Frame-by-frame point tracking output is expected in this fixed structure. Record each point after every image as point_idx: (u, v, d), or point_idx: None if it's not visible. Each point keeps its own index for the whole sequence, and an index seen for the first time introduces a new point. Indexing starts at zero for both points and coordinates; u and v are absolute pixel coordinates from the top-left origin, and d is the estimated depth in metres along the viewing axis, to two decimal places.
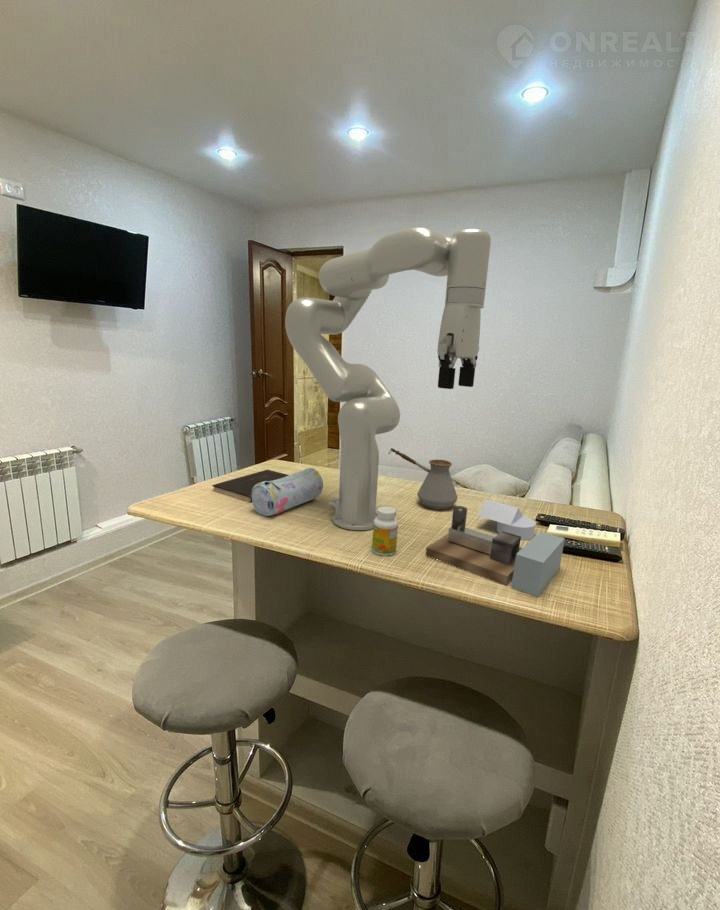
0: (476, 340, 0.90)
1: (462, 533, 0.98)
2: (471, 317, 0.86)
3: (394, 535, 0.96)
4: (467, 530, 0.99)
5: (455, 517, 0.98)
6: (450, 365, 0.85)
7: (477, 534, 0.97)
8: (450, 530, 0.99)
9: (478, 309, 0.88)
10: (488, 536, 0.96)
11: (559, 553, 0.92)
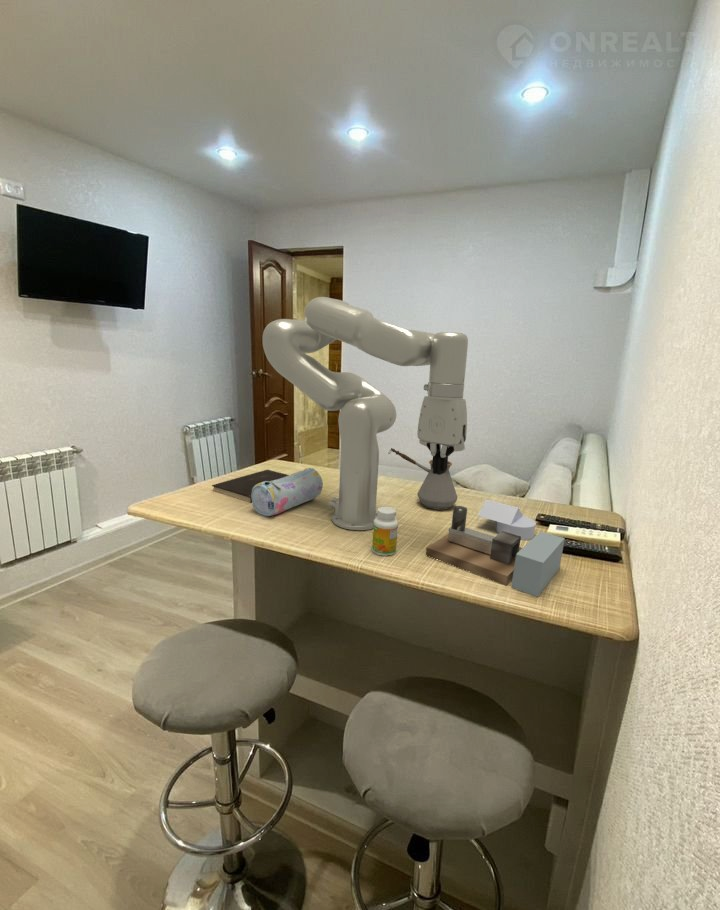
0: None
1: (462, 533, 0.98)
2: None
3: (394, 535, 0.96)
4: (467, 530, 0.99)
5: (455, 517, 0.98)
6: (448, 455, 1.00)
7: (477, 534, 0.97)
8: (450, 530, 0.99)
9: None
10: (488, 536, 0.96)
11: (559, 553, 0.92)
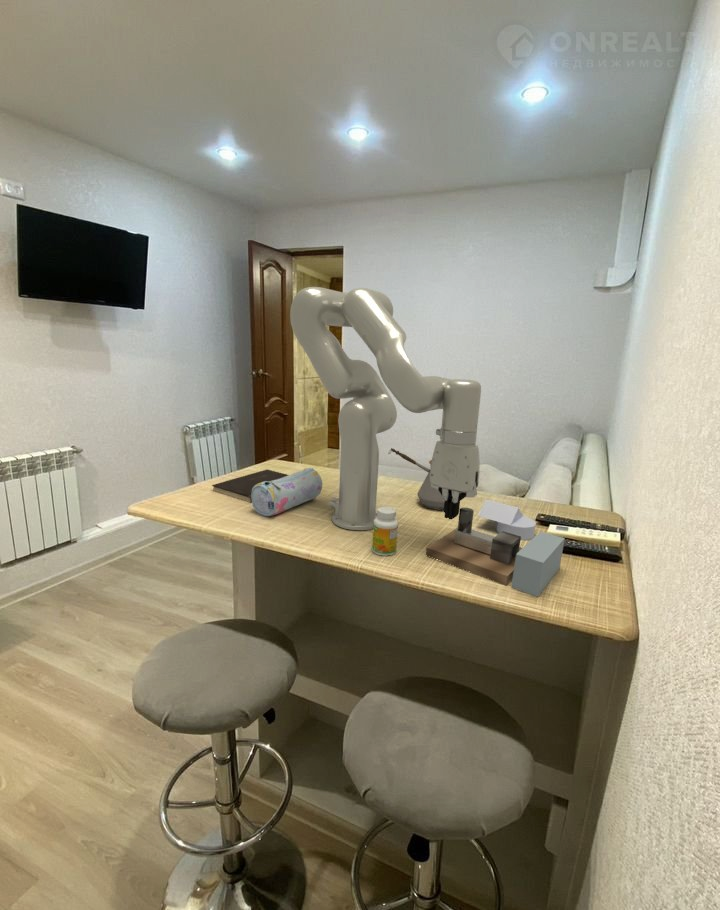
0: None
1: (468, 535, 0.97)
2: None
3: (394, 535, 0.96)
4: (473, 532, 0.98)
5: (461, 519, 0.97)
6: None
7: (484, 536, 0.96)
8: (456, 532, 0.99)
9: None
10: None
11: (559, 553, 0.92)
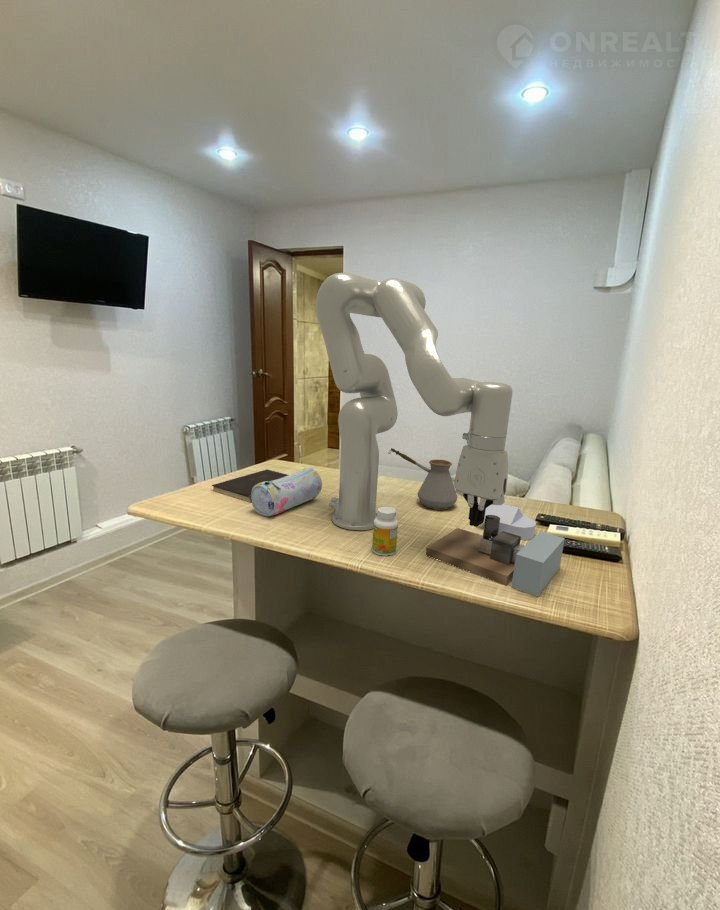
0: None
1: None
2: None
3: (394, 535, 0.96)
4: None
5: (487, 526, 0.94)
6: None
7: None
8: (482, 540, 0.95)
9: None
10: None
11: (559, 553, 0.92)
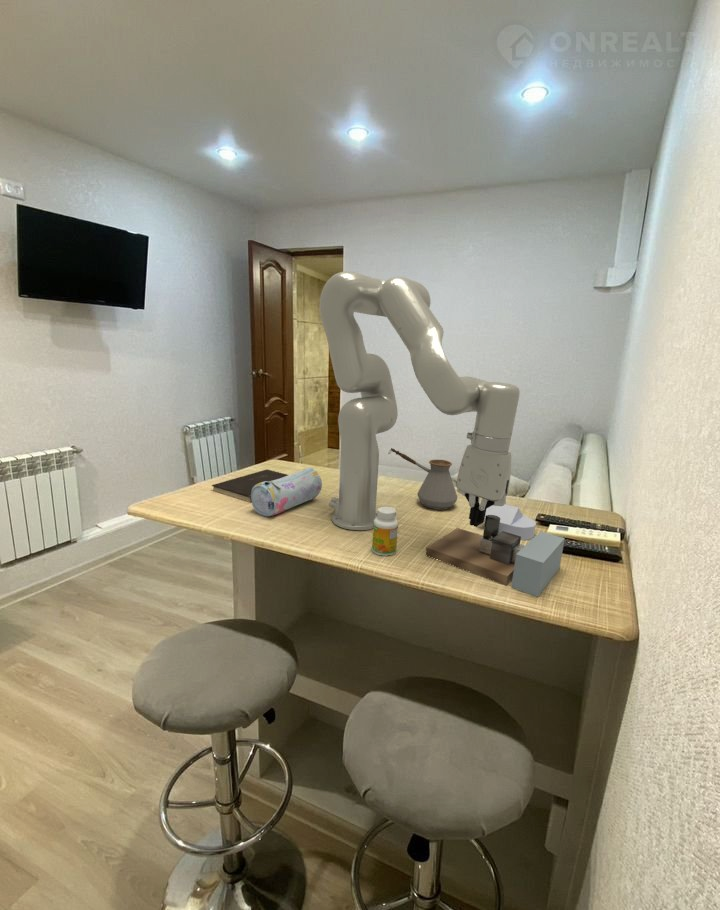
0: None
1: None
2: None
3: (394, 535, 0.96)
4: None
5: (487, 526, 0.94)
6: None
7: None
8: (482, 540, 0.95)
9: None
10: None
11: (559, 553, 0.92)
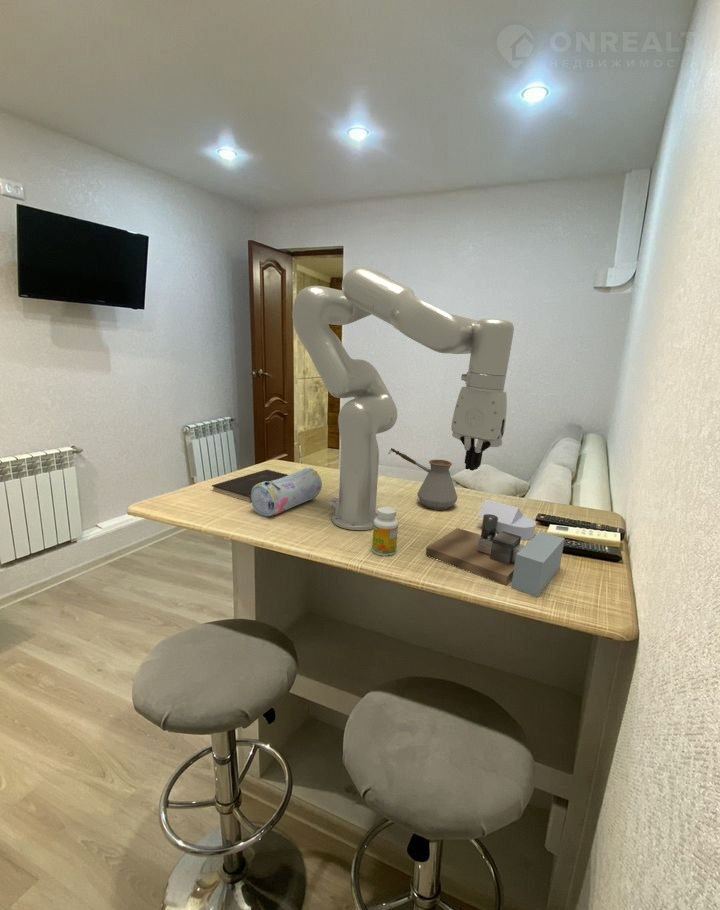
0: None
1: None
2: None
3: (394, 535, 0.96)
4: None
5: (485, 526, 0.94)
6: (483, 450, 0.94)
7: None
8: (480, 539, 0.95)
9: None
10: (521, 546, 0.92)
11: (559, 553, 0.92)
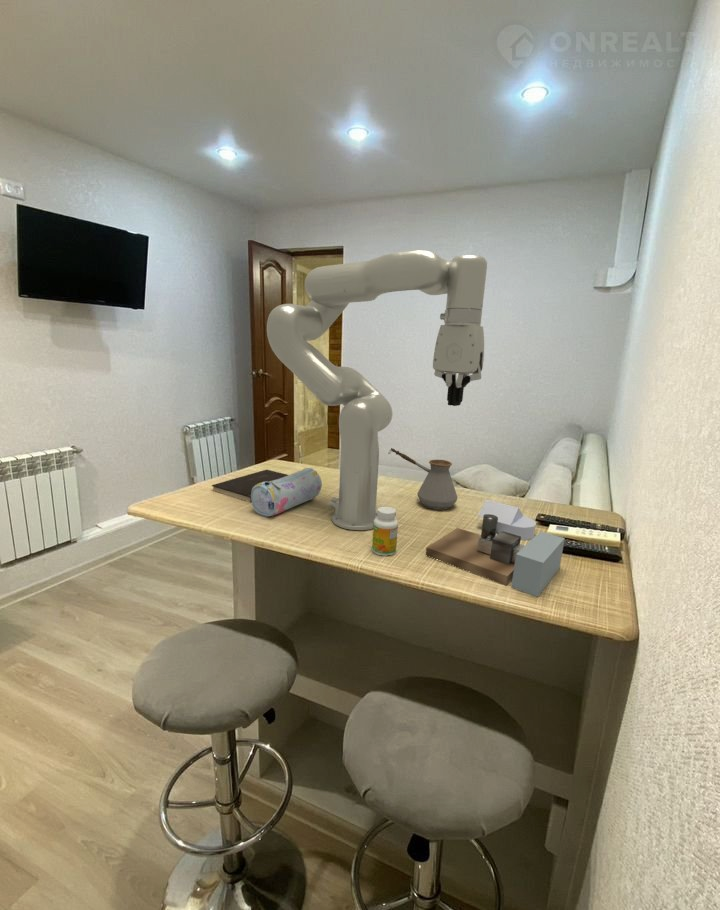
0: None
1: None
2: None
3: (394, 535, 0.96)
4: None
5: (485, 526, 0.94)
6: (464, 386, 0.98)
7: None
8: (480, 539, 0.95)
9: None
10: (521, 546, 0.92)
11: (559, 553, 0.92)
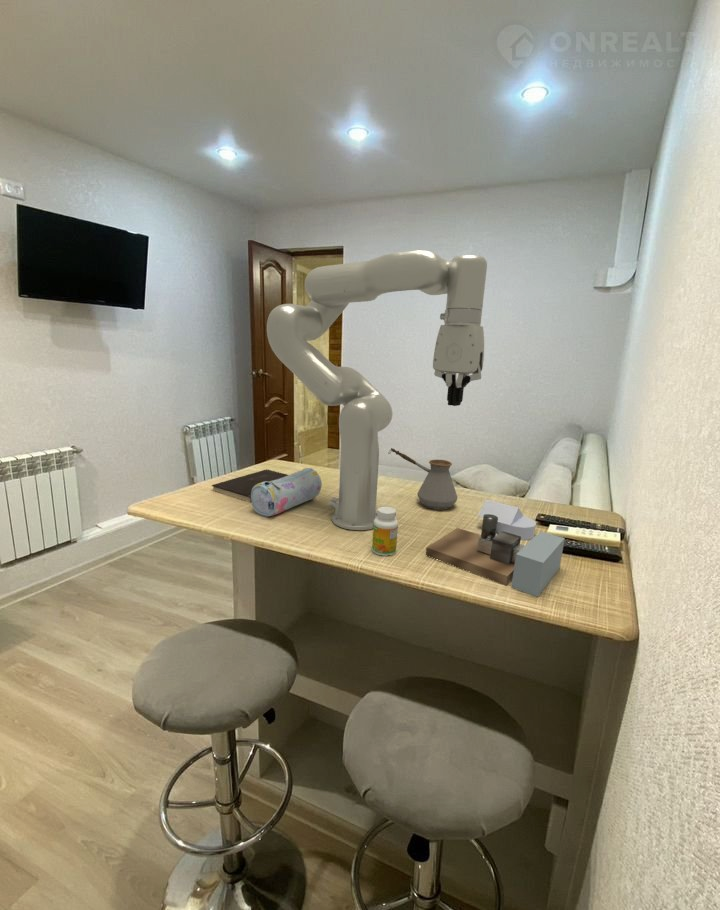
0: None
1: None
2: None
3: (394, 535, 0.96)
4: None
5: (485, 526, 0.94)
6: (464, 386, 0.98)
7: None
8: (480, 539, 0.95)
9: None
10: (521, 546, 0.92)
11: (559, 553, 0.92)
